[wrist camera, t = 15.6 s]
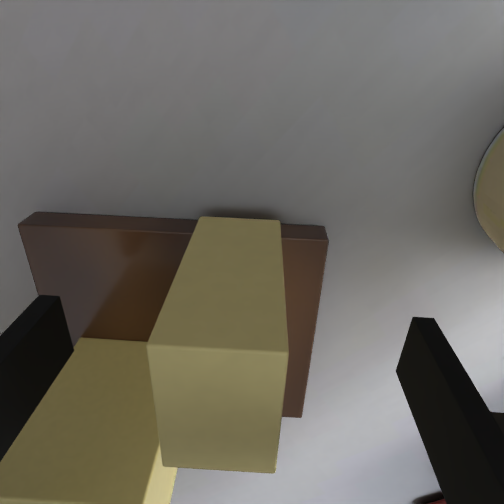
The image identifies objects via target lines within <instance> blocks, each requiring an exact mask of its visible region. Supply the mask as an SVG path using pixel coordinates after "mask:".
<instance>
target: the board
mask: <svg viewBox="0 0 504 504" xmlns="http://www.w3.org/2000/svg"><path fill="white" fill-rule="evenodd" d="M197 223H198V220H187V219H166V218H146V217H126V216H106V215H85V214H65V213H45V212H35V213H33V214H32V215H30V216H29V217H27V218H26V219H25V220H23V221H22V222H20V223H19V224H18V228H19V232H20V235H21V238H22V242H23V245H24V248H25V252H26V255H27V258H28V262H29V265H30V268H31V272H32V275H33V278H34V282H35V285H36V289H37V292H38V295H53V296H60V299H61V303H62V306H63V310H64V314H65V318H66V321H67V325H68V329H69V333H70V336H71V340H72V344H73V348H74V346H75V345H76V343H77V342H78V340H79V339H80V338H81V337H82V338H97V339H112V340H128V341H143V342H148V340H149V338H150V335H151V333H152V330H153V328H154V326H155V323H156V321H157V318H158V316H159V314H160V311H161V309H162V306H163V304H164V302H165V299H166V297H167V294H168V292H169V290H170V287H171V285H172V282H173V280H174V278H175V275H176V273H177V270H178V268H179V266H180V263H181V261H182V259H183V256H184V254H185V251H186V249H187V247H188V244H189V242H190V239H191V237H192V235H193V232H194V230H195V227H196V225H197ZM280 225H281V241H282V256H283V272H284V287H285V302H286V318H287V333H288V349H289V357H288V366H287V374H286V383H285V392H284V401H283V410H282V417H295V418H301V417H302V412H303V406H304V399H305V393H306V386H307V380H308V373H309V367H310V360H311V354H312V347H313V341H314V334H315V328H316V321H317V314H318V308H319V301H320V295H321V288H322V282H323V275H324V269H325V262H326V256H327V249H328V243H329V240H328V237H327V233H326V230H325V227H324V226H308V225H288V224H280Z"/></svg>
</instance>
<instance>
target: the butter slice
mask: <svg viewBox="0 0 504 504" xmlns="http://www.w3.org/2000/svg"><path fill="white" fill-rule="evenodd" d="M146 349H147V356H148V363H149V370H150V378H151V385H152V392H153V399H154V407H155V414H156V421H157V428H158V436H159V443H160V450H161V458H162V465H163V466H164V467H176V468H193V469H209V470H225V471H241V472H257V473H275V471H276V463H277V454H278V445H279V436H280V428H281V419H282V410H283V401H284V392H285V383H286V374H287V366H288V357H289V349H288V333H287V318H286V302H285V287H284V272H283V256H282V241H281V225H280V221H279V220H263V219H243V218H223V217H202V216H201V217H200V218H199V220H198V223H197V225H196V227H195V230H194V232H193V235H192V237H191V239H190V242H189V244H188V247H187V249H186V251H185V254H184V256H183V259H182V261H181V263H180V266H179V268H178V270H177V273H176V275H175V278H174V280H173V282H172V285H171V287H170V290H169V292H168V294H167V297H166V299H165V302H164V304H163V306H162V309H161V311H160V314H159V316H158V318H157V321H156V323H155V326H154V328H153V330H152V333H151V335H150V338H149V340H148V342H147V345H146Z"/></svg>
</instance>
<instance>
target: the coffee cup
mask: <svg viewBox="0 0 504 504" xmlns="http://www.w3.org/2000/svg"><path fill="white" fill-rule="evenodd" d="M473 200H474V209H475V212H476V215H477V219H478V221H479V223H480V225H481V226H482V228H483V229H484V231H485V232H486V234H487V235H488V236H489V237H490V238H491V239H492V241H493V242H494V243H495V244H496V245H497V246H498V248H499V249H500V250H501V251H502V252H503V253H504V128H503V129H502V130H501V131H500V132H499V134H498V135H497V136H496V137H495V139H494V140H493V142H492V143H491V145H490V146H489V148H488V149H487V151H486V153H485V155H484V157H483V159H482V161H481V163H480V166H479V168H478V171H477V174H476V178H475V183H474V192H473Z"/></svg>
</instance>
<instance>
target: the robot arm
mask: <svg viewBox="0 0 504 504" xmlns="http://www.w3.org/2000/svg"><path fill="white" fill-rule="evenodd" d="M73 352H74V348H73V344H72V340H71V336H70V333H69V329H68V325H67V321H66V318H65V314H64V310H63V306H62V303H61V299H60V296H53V295H39V296H38V297H37V298H36V299H35V300H34V301H33V302H32V303H31V304H30V305H29V306H28V307H27V308H26V310H25V311H24V312H23V313H22V314H21V315H20V316H19V317H18V318H17V319H16V320H15V321H14V322H13V323H12V324H11V325H10V326H9V327H8V328H7V329H6V330H5V331H4V333H3V334H2V335H1V336H0V462H1V460H2V459H3V457H4V456H5V454H6V453H7V451H8V450H9V448H10V447H11V445H12V444H13V442H14V441H15V439H16V438H17V436H18V435H19V433H20V432H21V430H22V429H23V427H24V426H25V424H26V423H27V421H28V420H29V418H30V417H31V415H32V414H33V412H34V411H35V409H36V408H37V406H38V405H39V403H40V402H41V400H42V399H43V397H44V396H45V394H46V393H47V391H48V389H49V388H50V386H51V385H52V383H53V382H54V380H55V379H56V377H57V376H58V374H59V373H60V371H61V370H62V368H63V367H64V365H65V364H66V362H67V361H68V359H69V358H70V356H71V355H72V353H73ZM396 373H397V376H398V378H399V381H400V383H401V386H402V389H403V391H404V394H405V396H406V399H407V402H408V404H409V407H410V409H411V412H412V415H413V417H414V420H415V423H416V425H417V428H418V430H419V433H420V436H421V438H422V441H423V443H424V446H425V449H426V451H427V454H428V457H429V459H430V462H431V464H432V467H433V470H434V472H435V475H436V477H437V480H438V483H439V485H440V488H441V490H442V493H443V496H444V498H445V501H446V504H504V413H495V412H490V411H489V409H488V407H487V406H486V404H485V402H484V401H483V399H482V397H481V396H480V394H479V392H478V391H477V389H476V387H475V386H474V384H473V382H472V381H471V379H470V377H469V376H468V374H467V372H466V371H465V369H464V367H463V366H462V364H461V362H460V361H459V359H458V357H457V356H456V354H455V352H454V351H453V349H452V347H451V346H450V344H449V342H448V341H447V339H446V337H445V336H444V334H443V333H442V331H441V329H440V328H439V326H438V324H437V323H436V321H435V319H434V318H422V317H413V318H412V321H411V324H410V327H409V331H408V334H407V337H406V340H405V343H404V347H403V350H402V353H401V356H400V359H399V363H398V366H397V369H396Z"/></svg>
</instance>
